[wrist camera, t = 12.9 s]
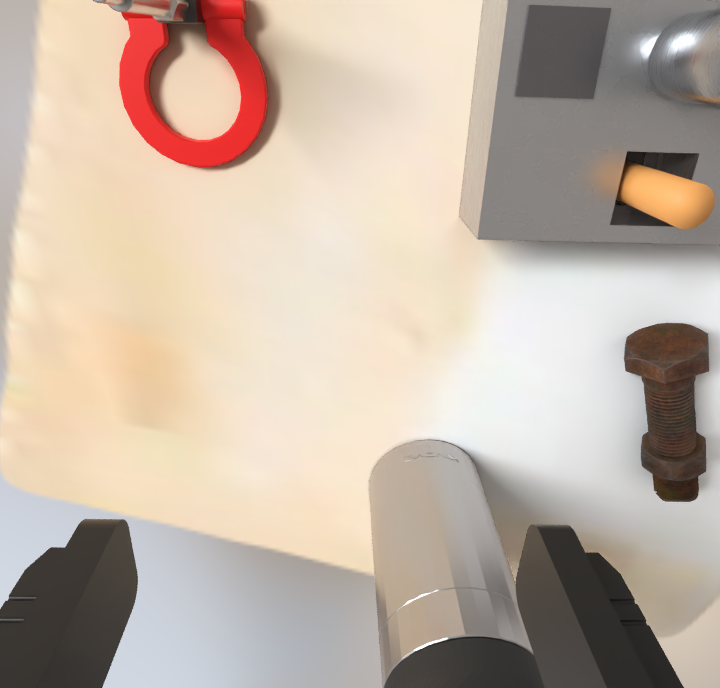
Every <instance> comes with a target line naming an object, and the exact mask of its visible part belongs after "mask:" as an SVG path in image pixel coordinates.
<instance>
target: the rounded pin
mask: <svg viewBox="0 0 720 688" xmlns="http://www.w3.org/2000/svg"><path fill="white" fill-rule="evenodd" d="M616 200H619V201H621V202H623V203H625V204H627V205H629V206H632V207H634V208H636V209H638V210H640V211H642V212H645V213H647V214H649V215H651V216H653V217H655V218H658V219H660V220H662V221H664V222H666V223H668V224H671V225H673V226H675V227H677V228H680V229H692V228H695V227H697V226H699V225H701V224H702V223H703V222H705V221H706V220H707V219H708V217H709V216H710V215H711V213H712V211H713V208H714V205H715V196H714V193H713V191H712V189H711V188H710V187H708V186H707V185H705V184H702V183H698V182H695V181H692V180H689V179H685V178H682V177H679V176H676V175H672V174H669V173H666V172H663V171H659V170H656V169H653V168H650V167H646V166H643V165H640V164H637V163H633V162H630V161H627V160H625V163H624V167H623V171H622V176H621V180H620V184H619V188H618V193H617V197H616Z"/></svg>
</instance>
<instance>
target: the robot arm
mask: <svg viewBox="0 0 720 688" xmlns="http://www.w3.org/2000/svg"><path fill="white" fill-rule="evenodd" d="M369 497H370V512H371V530H372V544H373V558H374V573H375V587H376V602H377V615H378V631H379V644H380V656H381V671H382V686H383V688H684V687H683V686H682V684H681V682H680V680H679V678H678V677H677V675H676V673H675V671H674V669H673V668H672V666H671V664H670V662H669V660H668V659H667V657H666V655H665V653H664V651H663V650H662V648H661V646H660V644H659V642H658V641H657V639H656V637H655V635H654V633H653V632H652V630H651V628H650V626H647V624H646V619H645V617H644V616H643V614H642V612H641V610H640V608H639V607H638V605H637V604H635V602H634V598H633V596H632V594H631V592H630V590H629V589H628V587H627V585H626V583H625V581H624V580H623V578H622V576H621V574H620V573H619V572H618V571H617V570H616V569H615V568H613V567H612V566H611V565H610V564H609V563H608V562H607V561H606V560H605V559H604V558H603V557H602V556H601V555H600V554H599V553H585V551H584V549H583V547H582V545H581V543H580V542H579V540H578V538H577V536H576V534H575V532H574V530H573V529H572V528H571V527H570V526H568V525H531V526H530V527H529V528H528V531H527V535H526V539H525V543H524V547H523V551H522V556H521V560H520V564H519V568H518V572H517V577H516V584H515V581H514V578H513V575H512V572H511V569H510V566H509V563H508V560H507V557H506V554H505V551H504V549H503V546H502V543H501V540H500V537H499V534H498V531H497V528H496V525H495V522H494V519H493V516H492V513H491V510H490V507H489V504H488V501H487V498H486V495H485V492H484V489H483V487H482V484H481V481H480V478H479V475H478V472H477V470H476V467H475V464H474V462H473V461H472V460H471V458H470V457H469V456H468V455H467V454H466V453H465V452H464V451H462V450H461V449H460V448H458V447H456V446H454V445H452V444H449V443H445V442H442V441H435V440H420V441H414V442H410V443H406V444H403V445H401V446H399V447H396V448H394V449H393V450H391V451H390V452H388V453H387V454H386V455H384V456H383V457H382V458H381V459H380V460H379V462H378V463H377V464H376V466H375V467H374V469H373V471H372V473H371V477H370V480H369ZM137 585H138V576H137V569H136V564H135V559H134V554H133V549H132V543H131V537H130V532H129V527H128V524H127V522H126V521H125V520H115V519H114V520H112V519H109V520H108V519H85V520H83V521H81V523H80V524H79V525H78V527H77V528H76V530H75V532H74V534H73V535H72V537H71V539H70V540H69V542H68V544H67V546H66V547H65V548H53V547H52V548H50V549H48V550H47V551H46V552H45V553H44V554H43V555H42V556H40V558H38V559H37V560H36V561H35V562H34V563H32V564H31V565H30V566H29V567H28V568H27V569H26V570H25V571H24V573H23V574H22V576H21V578H20V579H19V581H18V582H17V584H16V585H15V587H14V588H13V590H12V592H11V593H10V595H9V599H8V601H5V603H4V604H3V606H2V607H1V609H0V688H102V687H103V684H104V681H105V679H106V676H107V674H108V671H109V669H110V666H111V663H112V661H113V658H114V656H115V653H116V650H117V648H118V645H119V643H120V640H121V637H122V635H123V632H124V630H125V627H126V625H127V622H128V619H129V617H130V614H131V612H132V609H133V606H134V603H135V598H136V593H137Z"/></svg>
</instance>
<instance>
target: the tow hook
mask: <svg viewBox="0 0 720 688" xmlns="http://www.w3.org/2000/svg"><path fill="white" fill-rule="evenodd" d="M93 1H95V2H97V3H103V4H108V5H109V6H110V7H111V8H112V9H113V10H115V11H118V12H121V13H122V16H123V18H124V19H125V20H126V21H128V24H129V30H130V36H131V37H130V38H129V40H128V41H127V43H126V44H125V47H124V51H123V54H122V58H121V62H120V77H119V86H120V90H121V95H122V99H123V103H124V107H125V109H126V111H127V113H128V115H129V117H130V119H131V121H132V123H133V125H134V127H135V128H136V129H137V131H138V132H139V133H140V134H141V136H142V137H143V138H144V139H145V141H146V142H147V143H148V144H150V145H151V146H152V147H153V148H155V149H156V150H157V151H158V152H159V153H161V154H162V155H164V156H166V157H168V158H170V159H172V160H174V161H176V162H178V163H181V164H186V165H190V166H195V167H212V166H218V165H221V164H224V163H227V162H230V161H232V160H234V159H235V158H236V157H238V156H239V155H241V154H242V153H244V152H245V151H246V150H247V149H248V148H249V147H250V145H251V144H252V143H253V142H254V140H255V139H256V138H257V136H258V135H259V133H260V130H261V128H262V126H263V123H264V121H265V118H266V111H267V104H268V92H267V83H266V77H265V74H264V71H263V68H262V66H261V63H260V60H259V58H258V56H257V54H256V53H255V51H254V50H253V48H252V47H251V45H250V44H249V42H248V40H247V39H246V38H245V33H244V22H245V21H246V2H245V0H93ZM167 23H176V24H204V23H205V24H206V33H207V41H208V43H209V44H210V45H211V46H212V47H213V48H215V49H217V50H218V51H219V52H220V53H221V54H222V55H223V56H224V57H225V58H226V59H227V60H228V62H229V63H230V65H231V66H232V68H233V69H234V71H235V73H236V76H237V79H238V81H239V84H240V91H241V104H240V111H239V113H238V116H237V119H236V121H235V123H234V124H233V125H232V127H231V128H230V129H229V130H228V131H227V132H226V133H224V134H223V135H222V136H219V137H217V138H214V139H211V140H195V139H191V138H187V137H185V136H183V135H181V134H179V133H177V132H175V131H174V130H173V129H172V128H170V127H169V126H168V125H167V124H166V123H165V122H164V121H163V119H162V118H161V117H160V115H159V114H158V113H157V111H156V108H155V106H154V104H153V102H152V99H151V94H150V89H149V76H150V71H151V68H152V64H153V61H154V60H155V58H156V57H157V55H158V54H159V52H160V51H161V50H163V49H164V48H165V47H166V46H168V43H169V35H168V28H167Z"/></svg>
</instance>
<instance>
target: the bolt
mask: <svg viewBox="0 0 720 688" xmlns="http://www.w3.org/2000/svg"><path fill="white" fill-rule="evenodd" d="M624 361H625V370H626V371H627V372H630V373H633V374H636V375H639V376H642V381H643V383H644V391H645V401H646V411H647V421H648V431H649V432H647V433H646V434H644V435H643V437H642V445H641V461H642V466H643V467H644V468H645V469H647V470H648V471H649V472H651V473H652V474H653V481H654V490H655V491H657V493H656V494H657V495H658V496H659V497H660V498H661V499H662V500H663V501H671V502H690V501H693V500H695V499H696V498H697V497H698V490H699V487H698V486H699V485H698V476H699V475H701V474H703V473H704V472H706V442H705V438H704V437H703V436H701V435H700V434H698V433H696V424H695V423H696V420H695V419H696V417H695V408H694V381H695V375H698V374H701V373H705V372H708V371H709V354H708V334H707V333H705V332H704V331H702V330H700V329H698V328H696V327H694V326H691V325H688V324H682V323H663V324H656V325H652V326H649V327H645V328H642V329H639V330H637V331H635V332H634V333H632V334H631V335H629V336H628V337H627V339H626V344H625V353H624Z"/></svg>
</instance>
